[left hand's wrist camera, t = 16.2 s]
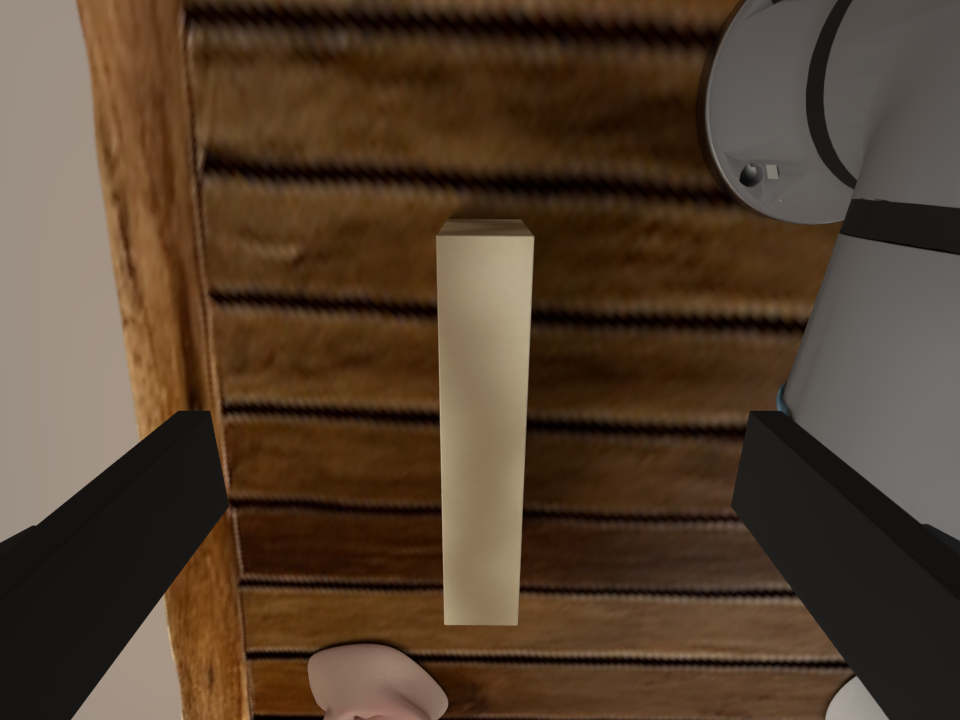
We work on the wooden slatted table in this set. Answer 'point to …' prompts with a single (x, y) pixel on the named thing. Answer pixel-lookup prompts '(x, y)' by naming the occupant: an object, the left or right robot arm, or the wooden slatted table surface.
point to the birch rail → (483, 412)
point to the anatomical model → (373, 685)
